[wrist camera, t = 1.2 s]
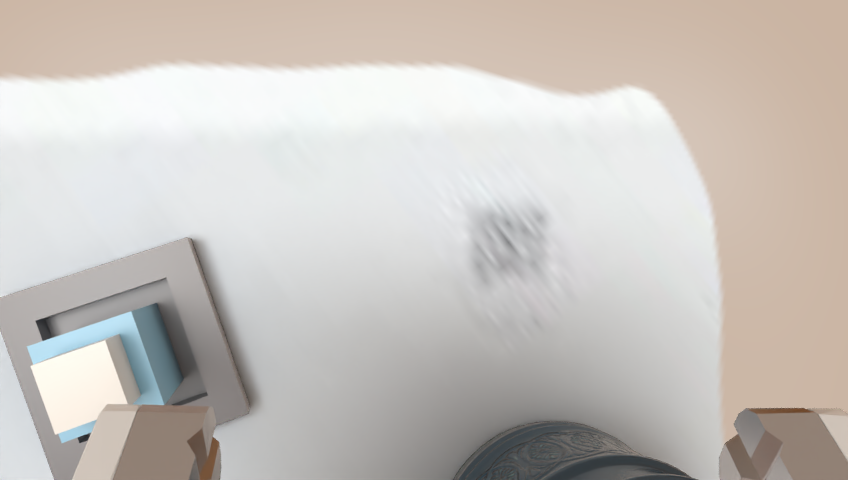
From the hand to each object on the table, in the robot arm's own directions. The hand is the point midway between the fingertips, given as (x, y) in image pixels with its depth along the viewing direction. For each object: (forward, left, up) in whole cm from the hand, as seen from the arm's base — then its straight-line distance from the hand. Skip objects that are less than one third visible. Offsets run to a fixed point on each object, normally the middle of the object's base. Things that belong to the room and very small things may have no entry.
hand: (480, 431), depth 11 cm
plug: (+2, +10, -27) cm, 29 cm away
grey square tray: (+2, +10, -27) cm, 29 cm away
